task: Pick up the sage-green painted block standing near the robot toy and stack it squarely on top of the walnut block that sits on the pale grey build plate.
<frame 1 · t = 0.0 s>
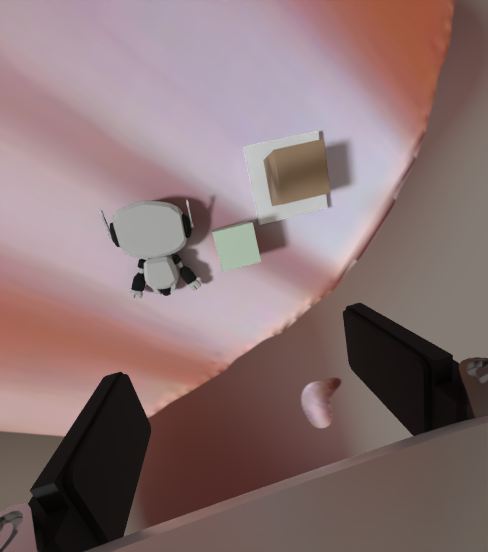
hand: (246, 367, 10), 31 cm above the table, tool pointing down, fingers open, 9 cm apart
green block: (233, 243, 40), on the table
robot toy: (160, 248, 38), on the table
build plate: (286, 180, 38), on the table
walnut block: (288, 179, 37), point 1 cm above the table, touching build plate
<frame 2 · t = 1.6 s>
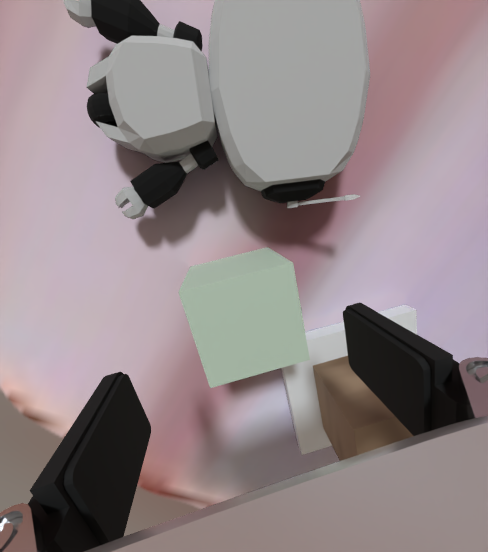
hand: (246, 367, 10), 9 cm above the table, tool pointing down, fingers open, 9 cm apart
green block: (238, 292, 18), on the table
robot toy: (225, 119, 15), on the table
build plate: (347, 378, 22), on the table
walnut block: (355, 387, 21), point 1 cm above the table, touching build plate
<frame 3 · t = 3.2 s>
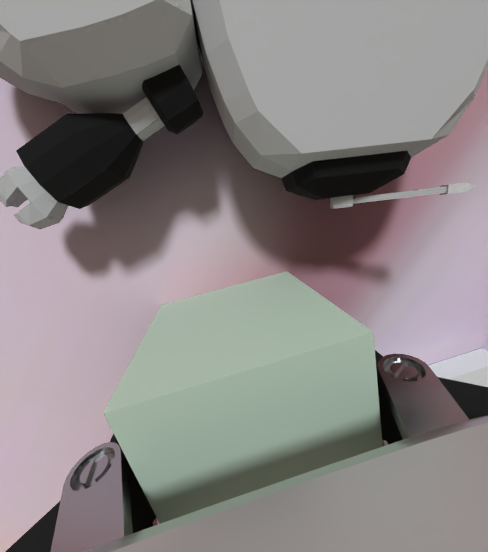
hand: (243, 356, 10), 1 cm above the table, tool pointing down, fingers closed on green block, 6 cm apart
green block: (240, 342, 11), on the table, touching gripper
robot toy: (217, 52, 9), on the table
build plate: (395, 450, 15), on the table
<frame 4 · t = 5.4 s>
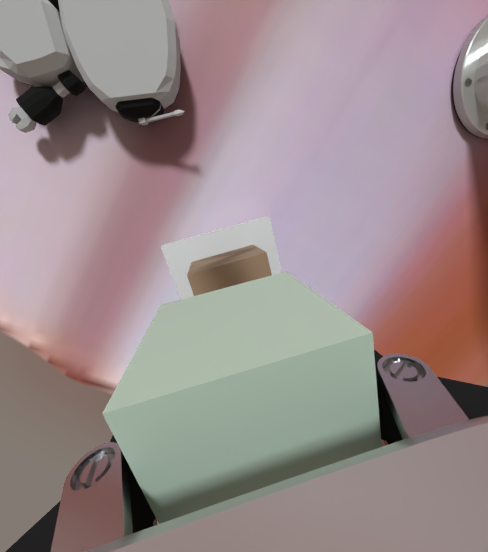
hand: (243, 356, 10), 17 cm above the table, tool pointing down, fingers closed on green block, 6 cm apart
green block: (239, 342, 12), point 16 cm above the table, touching gripper
robot toy: (98, 63, 21), on the table
build plate: (230, 279, 27), on the table
walnut block: (231, 282, 26), point 1 cm above the table, touching build plate
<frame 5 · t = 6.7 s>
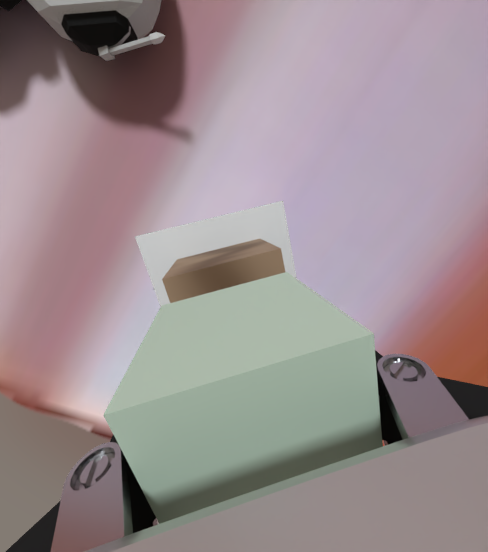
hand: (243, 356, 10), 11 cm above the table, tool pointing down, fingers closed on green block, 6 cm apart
green block: (240, 343, 11), point 10 cm above the table, touching gripper
build plate: (228, 283, 21), on the table
walnut block: (229, 287, 20), point 1 cm above the table, touching build plate
when the fingers open (10 cm above the table, at t = 7.8 s): green block drops 1 cm, resting on walnut block.
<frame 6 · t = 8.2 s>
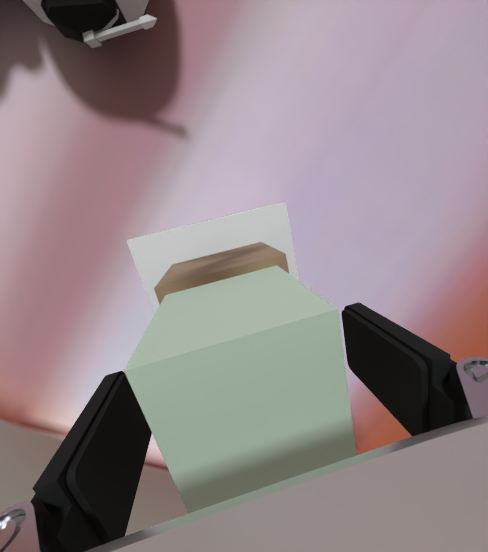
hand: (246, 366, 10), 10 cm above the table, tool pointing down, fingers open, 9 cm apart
green block: (236, 329, 13), point 7 cm above the table, touching walnut block
build plate: (227, 290, 20), on the table
walnut block: (228, 294, 19), point 1 cm above the table, touching build plate, green block
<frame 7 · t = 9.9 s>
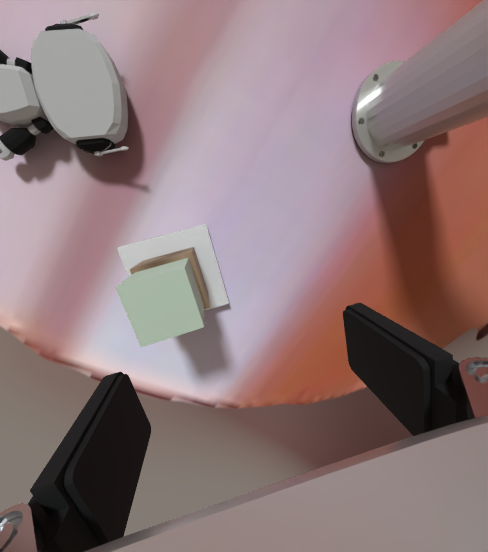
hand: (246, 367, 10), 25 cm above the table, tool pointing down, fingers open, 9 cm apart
green block: (170, 289, 26), point 7 cm above the table, touching walnut block
robot toy: (65, 108, 27), on the table
build plate: (177, 275, 33), on the table
walnut block: (176, 277, 32), point 1 cm above the table, touching build plate, green block
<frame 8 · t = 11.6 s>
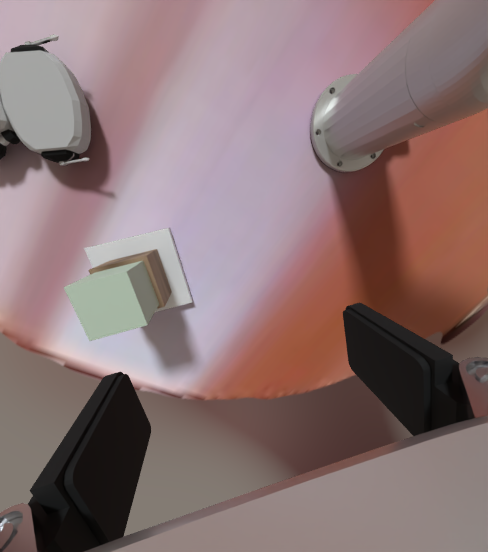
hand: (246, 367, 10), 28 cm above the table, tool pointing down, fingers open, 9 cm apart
green block: (127, 289, 29), point 7 cm above the table, touching walnut block
robot toy: (35, 119, 29), on the table
build plate: (143, 275, 36), on the table
walnut block: (141, 277, 35), point 1 cm above the table, touching build plate, green block
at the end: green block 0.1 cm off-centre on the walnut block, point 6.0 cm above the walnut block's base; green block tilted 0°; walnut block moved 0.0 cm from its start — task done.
